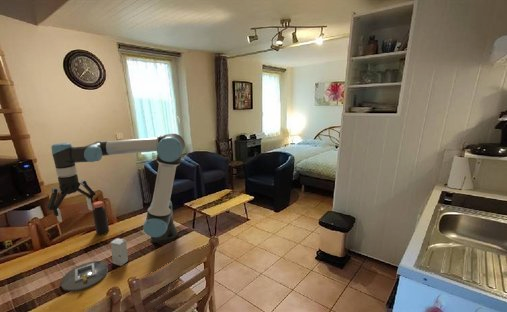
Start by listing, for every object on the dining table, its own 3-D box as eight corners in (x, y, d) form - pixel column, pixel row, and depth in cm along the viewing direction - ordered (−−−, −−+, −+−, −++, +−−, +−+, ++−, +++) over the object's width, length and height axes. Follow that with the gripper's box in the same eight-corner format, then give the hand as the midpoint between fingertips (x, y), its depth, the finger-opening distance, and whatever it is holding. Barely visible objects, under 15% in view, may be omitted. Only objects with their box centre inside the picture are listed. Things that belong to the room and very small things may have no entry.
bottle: (100, 236, 144) (95, 206, 140) (93, 233, 147) (88, 203, 142) (111, 230, 150) (106, 201, 146) (104, 228, 153) (100, 199, 148)
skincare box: (112, 263, 120) (109, 242, 117) (119, 258, 124) (116, 237, 121) (122, 266, 118) (118, 244, 115) (129, 260, 122) (126, 239, 119)
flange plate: (106, 259, 123) (104, 249, 122) (109, 279, 109) (108, 269, 108) (62, 273, 113) (60, 263, 112) (60, 298, 99) (57, 287, 97)
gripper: (90, 167, 126) (97, 204, 131) (30, 181, 105) (41, 224, 110) (98, 169, 123) (105, 206, 128) (38, 184, 101) (49, 228, 106)
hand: (76, 215), depth 119 cm, fingers open, 13 cm apart
